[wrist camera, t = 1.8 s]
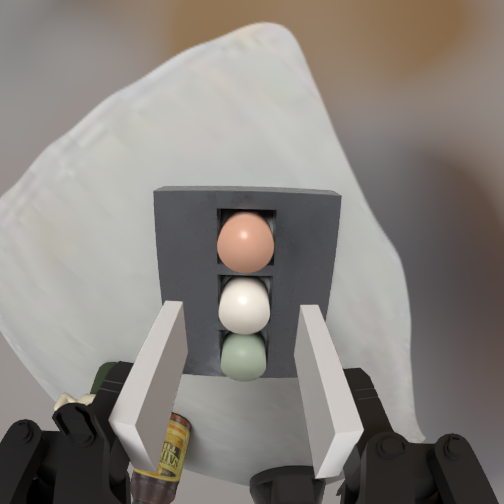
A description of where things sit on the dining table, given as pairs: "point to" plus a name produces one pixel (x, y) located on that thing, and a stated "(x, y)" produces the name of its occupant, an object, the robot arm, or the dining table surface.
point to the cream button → (244, 304)
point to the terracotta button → (245, 242)
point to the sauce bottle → (163, 467)
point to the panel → (278, 268)
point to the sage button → (243, 356)
